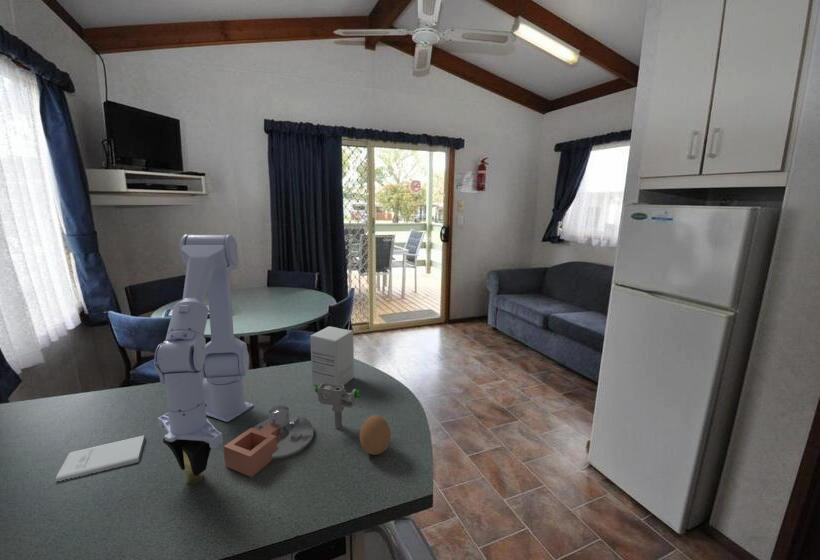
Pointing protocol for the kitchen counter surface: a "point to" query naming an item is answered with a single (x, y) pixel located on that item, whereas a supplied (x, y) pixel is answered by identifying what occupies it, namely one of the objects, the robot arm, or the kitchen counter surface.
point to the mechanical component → (336, 399)
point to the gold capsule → (190, 471)
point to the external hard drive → (101, 458)
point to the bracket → (252, 449)
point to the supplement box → (332, 356)
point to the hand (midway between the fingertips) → (193, 469)
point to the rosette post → (288, 432)
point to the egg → (375, 435)
